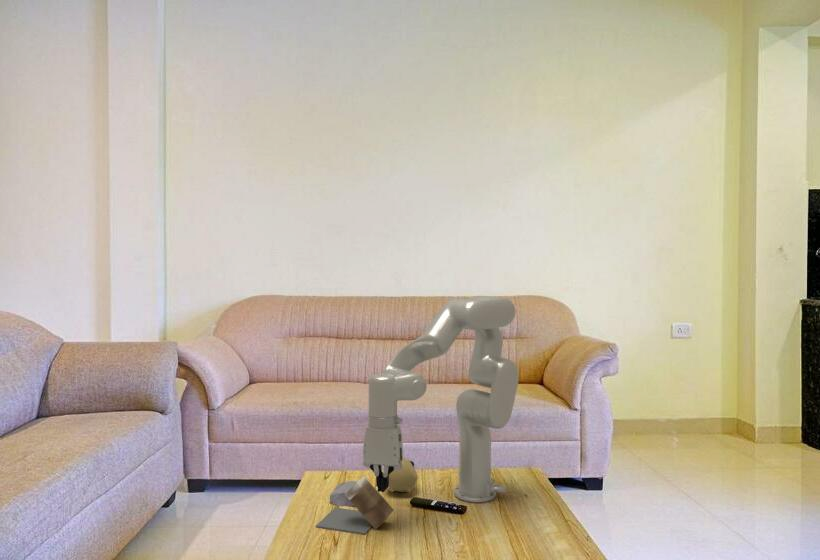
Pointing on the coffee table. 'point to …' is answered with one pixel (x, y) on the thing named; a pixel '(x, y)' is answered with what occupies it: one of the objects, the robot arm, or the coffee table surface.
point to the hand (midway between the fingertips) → (382, 489)
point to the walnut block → (369, 502)
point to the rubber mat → (345, 521)
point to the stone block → (342, 494)
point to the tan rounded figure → (403, 477)
